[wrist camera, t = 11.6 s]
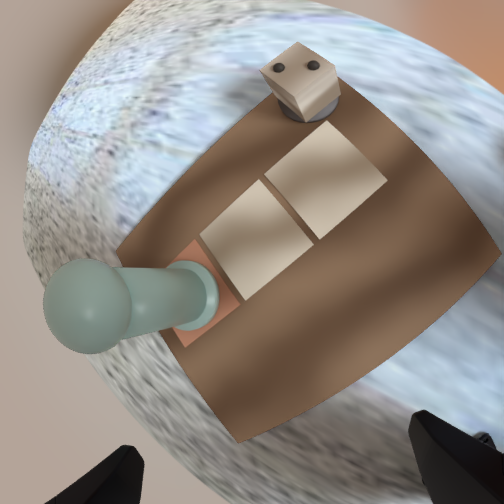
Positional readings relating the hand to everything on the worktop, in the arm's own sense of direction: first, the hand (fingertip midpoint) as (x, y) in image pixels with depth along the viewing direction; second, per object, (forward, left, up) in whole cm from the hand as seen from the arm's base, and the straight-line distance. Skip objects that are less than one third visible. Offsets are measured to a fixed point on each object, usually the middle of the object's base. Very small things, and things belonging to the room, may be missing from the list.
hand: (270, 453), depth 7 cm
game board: (+7, -2, -12) cm, 14 cm away
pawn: (+9, +6, -11) cm, 16 cm away
